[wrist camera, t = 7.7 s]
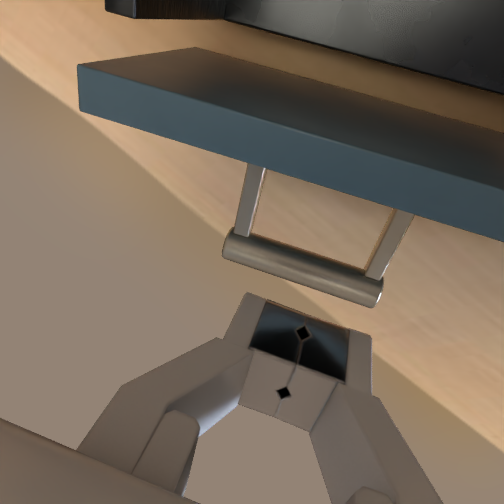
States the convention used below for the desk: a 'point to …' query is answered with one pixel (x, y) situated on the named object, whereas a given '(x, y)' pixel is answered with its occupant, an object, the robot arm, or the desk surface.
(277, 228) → the desk surface
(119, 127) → the desk surface
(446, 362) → the desk surface
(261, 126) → the drawer
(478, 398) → the desk surface
